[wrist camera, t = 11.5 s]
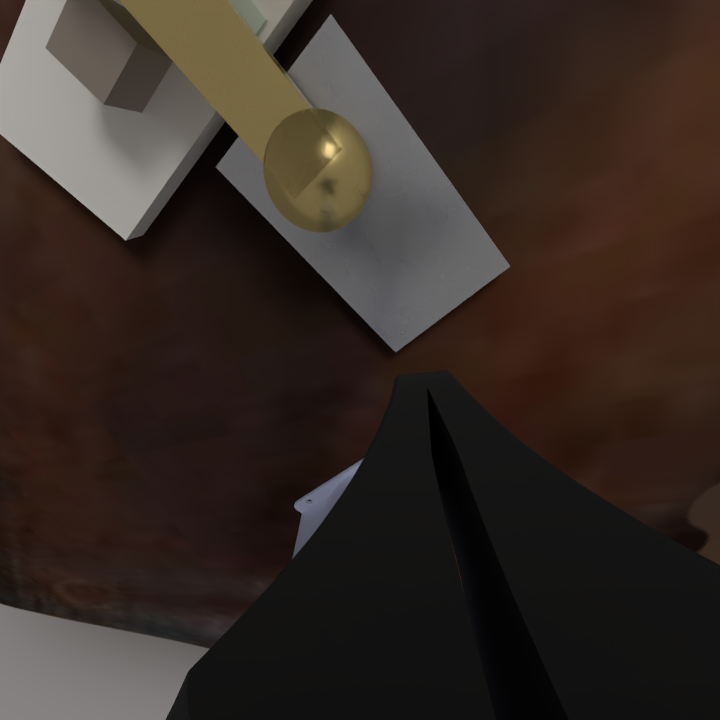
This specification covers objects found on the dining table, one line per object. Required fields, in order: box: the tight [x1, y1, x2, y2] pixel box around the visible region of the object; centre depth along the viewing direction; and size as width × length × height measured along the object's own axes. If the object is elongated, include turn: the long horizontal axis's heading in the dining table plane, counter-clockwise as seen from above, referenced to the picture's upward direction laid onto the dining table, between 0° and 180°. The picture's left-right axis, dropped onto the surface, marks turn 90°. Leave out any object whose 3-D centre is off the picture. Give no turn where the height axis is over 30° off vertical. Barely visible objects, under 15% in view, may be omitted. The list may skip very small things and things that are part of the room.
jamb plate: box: [216, 14, 510, 352], centre depth 16 cm, size 7×12×2 cm, turn 43°
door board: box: [0, 0, 313, 240], centre depth 12 cm, size 16×6×4 cm, turn 133°
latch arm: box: [119, 0, 373, 233], centre depth 11 cm, size 4×12×3 cm, turn 42°
